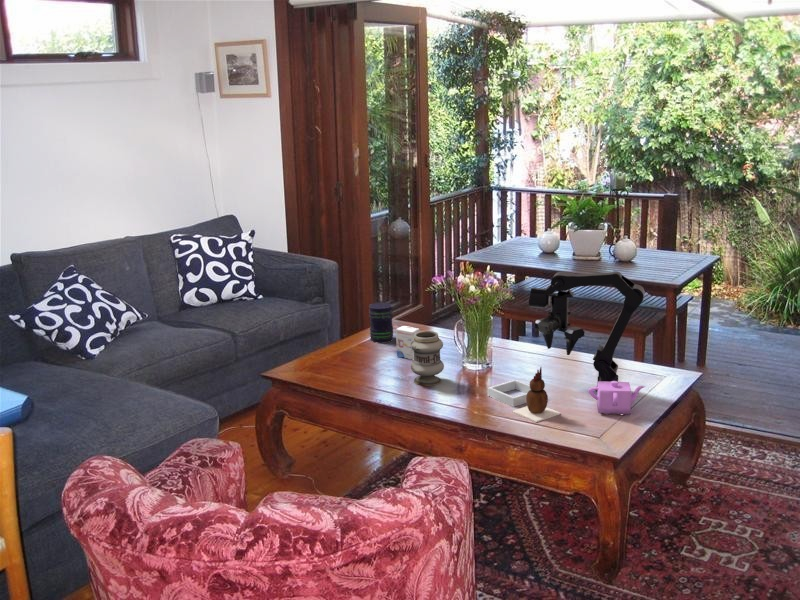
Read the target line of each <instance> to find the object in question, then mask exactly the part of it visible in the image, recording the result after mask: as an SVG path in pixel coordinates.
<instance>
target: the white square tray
mask: <svg viewBox="0 0 800 600" xmlns="http://www.w3.org/2000/svg"><path fill="white" fill-rule="evenodd" d="M513 390H517V391H519V392H522V394H518V395H516V396H512V395H510V394H509V393H506V392H510V391H513ZM529 390H531V389H530V383H529V384H528V383H526V382H523V381H522V380H521V381H520V380H517V379H513V380H509V381H506V382H503V383H498V384H495V385H492V386H489V387H487V397H489V396H490V397H489V398H491V397H492V399H494V400H496V401H499V402H501V403H504V404H505V405H507V406H510V407H512V408H513V407H518V406H521V405H523V404H527V402H526V396H527V393H528V392H529Z"/></svg>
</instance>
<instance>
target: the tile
mask: <svg viewBox="0 0 800 600" xmlns="http://www.w3.org/2000/svg"><path fill="white" fill-rule="evenodd" d="M512 413H513V414H515V415H518V416H520V417H523V418H524V419H527V420H529V421H531V422H533V423H539V422H542V421H545V420H548V419H550V418H553V417H557V416H559V415H561V412H560V411H558V410H554V409H552V408H550V407H547V406H546V409H545V410H544V411H543V412H542V413H532V412H530V411H529V409H528V407H527V405H526V406H523V407H520V408H516V409H514V410H512Z"/></svg>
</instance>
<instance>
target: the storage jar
mask: <svg viewBox="0 0 800 600" xmlns="http://www.w3.org/2000/svg"><path fill="white" fill-rule="evenodd" d="M368 307H369V309H368V311H369V312H368V313H369V314H368V315H369V319H370V321H369V323H370V327H369V335H370V338H369V339H370V342H372V341H373V342H372V343H375V342H380V343H379V344H383V343H382V342H386V343H389V342H388V341H390V342H392V341H394V326H393V317H394V316H393V315H394V314H393V304H392V303H389V302H384V301H383V302H382V301H381V302H380V301H379V302H374V303H371V304H369V306H368ZM391 340H392V341H391Z"/></svg>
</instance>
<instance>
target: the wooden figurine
mask: <svg viewBox="0 0 800 600" xmlns="http://www.w3.org/2000/svg"><path fill="white" fill-rule="evenodd" d="M536 371H537V372H535V375H533V378H532V379H531V380H530V381H529V385H530V389H531V390H529V392H528V393H527V396H526V402H527V403H526V406H527V407H528V409H529V411H530V412H532V413H542V412H543V411H544V410H545V409H546V407H547V406H548V401H549V399H548V398H549V397H548V394H547V393H548V392H547V391H546V390H545V387H546V383H545V380H544V379H542V378H543V375H542V373H543V372H542V371H543V370H542V366H540V368H539V369H537V370H536Z"/></svg>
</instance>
